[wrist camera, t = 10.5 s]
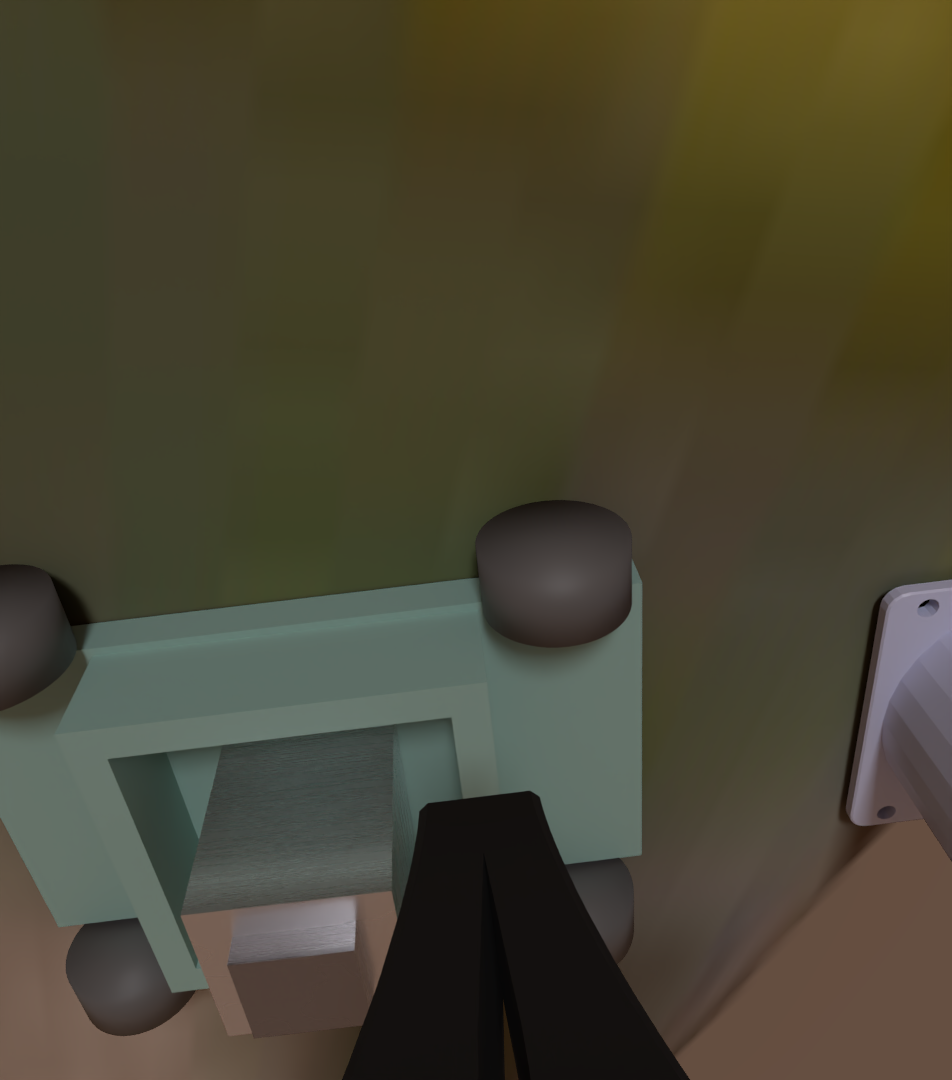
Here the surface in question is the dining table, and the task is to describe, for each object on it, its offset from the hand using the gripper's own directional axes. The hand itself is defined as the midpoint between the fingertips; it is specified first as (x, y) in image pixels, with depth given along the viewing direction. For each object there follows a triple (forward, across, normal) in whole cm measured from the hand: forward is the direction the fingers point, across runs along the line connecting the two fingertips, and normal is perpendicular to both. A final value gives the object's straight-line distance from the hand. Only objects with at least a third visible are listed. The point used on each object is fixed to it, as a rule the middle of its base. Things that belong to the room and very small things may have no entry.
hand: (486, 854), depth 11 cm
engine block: (+9, +4, +7) cm, 12 cm away
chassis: (+10, +4, +7) cm, 13 cm away
